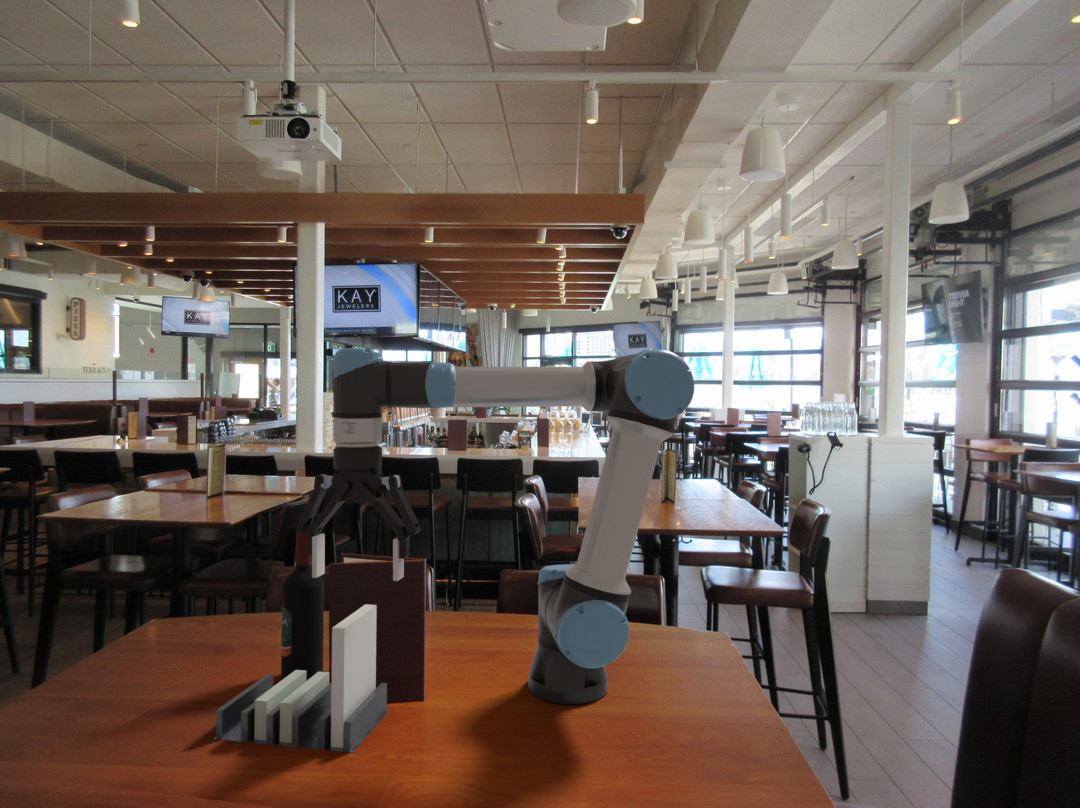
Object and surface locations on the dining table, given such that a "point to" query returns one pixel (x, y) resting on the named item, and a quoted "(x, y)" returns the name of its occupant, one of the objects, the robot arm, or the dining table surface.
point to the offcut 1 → (275, 700)
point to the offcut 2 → (299, 702)
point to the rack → (299, 719)
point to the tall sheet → (352, 667)
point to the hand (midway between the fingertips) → (358, 577)
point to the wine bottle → (302, 616)
